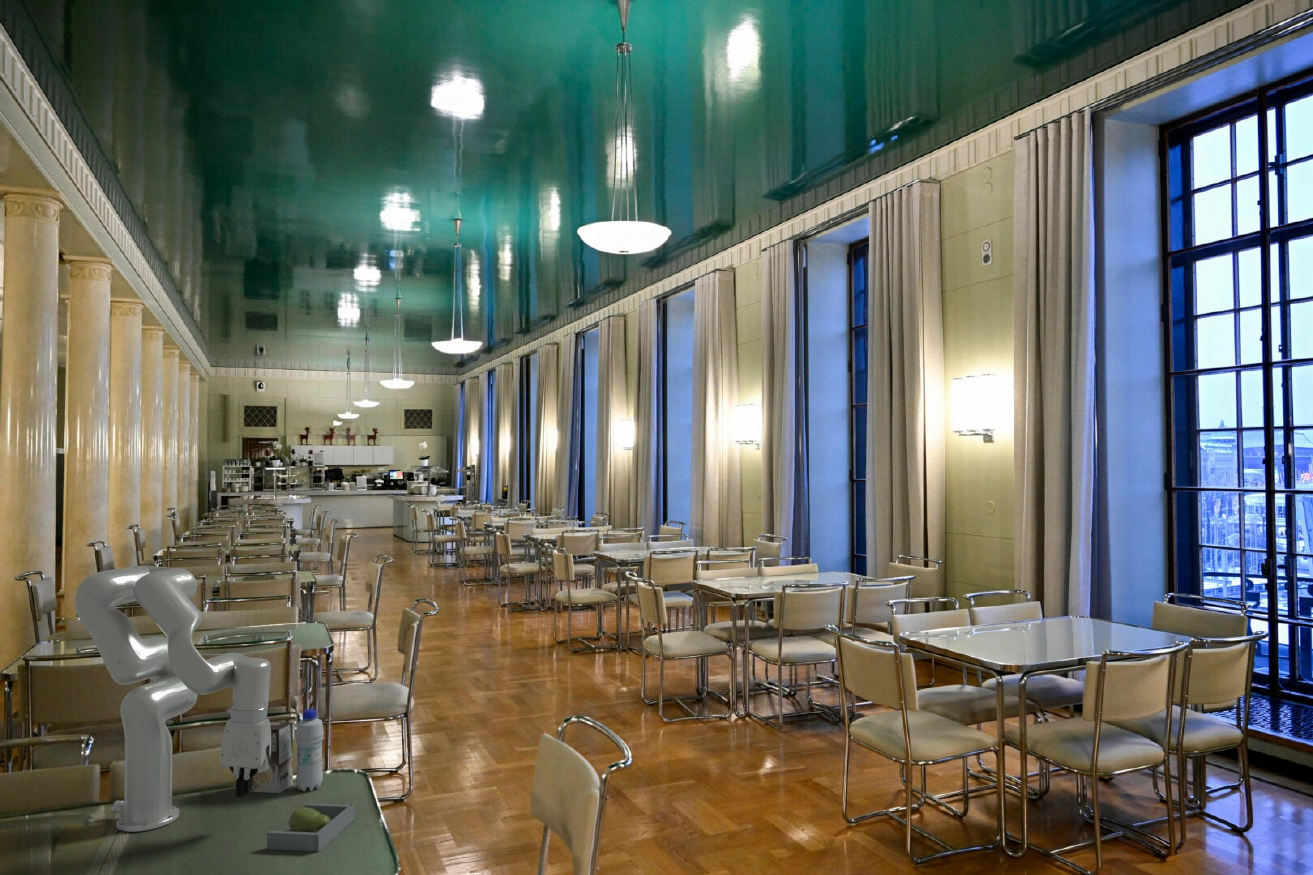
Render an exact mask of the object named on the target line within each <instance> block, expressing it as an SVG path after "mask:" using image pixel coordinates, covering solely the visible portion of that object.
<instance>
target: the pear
mask: <svg viewBox="0 0 1313 875" xmlns="http://www.w3.org/2000/svg"><path fill="white" fill-rule="evenodd" d="M330 821H332V820H330V817H328V816H326V815H322V814H320V813H319V812H318V811H316V810H314V809H311V808H305V807H304V806H303V807H299V808H296V809H295V810H294V811H293V812H292V813H291V815H290V817H289V820H288V825H289V829H290V830H291V832H311V833H317V832H318V831H320V830H321V829H322V828H323V827H324V826H326V825H327V824H328V823H329V822H330Z"/></svg>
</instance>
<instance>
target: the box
mask: <svg viewBox="0 0 1313 875" xmlns="http://www.w3.org/2000/svg"><path fill="white" fill-rule="evenodd" d="M303 807H305V808H311V809H314V810H316V811H318V812H319V813H320V814H322V815H326V816H328V817H330V820H332V821H330V822H329V823H328V824H327V825H326V826H324V827H323V828H322V829H321V830H320V831H318V832H317V833H313V832H311V831H309V832H293V831H287V830H286V831H284V830H283V831H282V830H269V831H267V832H266V834H267V835H266V850H278V851H296V852H297V851H298V852H317V853H318V852H319V853H320V851H322V850H323V848H325V847H326V846H327V845H329V843H330V842H332V841H333V840H334V839H335V838H336V837H337V836H338V835H339V834H341V833H342V832H343V831H344V830H345V829H346V828H347V827H349V826H350V825H351V824H352V823H353V822H354V821H355V804H334V803H333V804H332V803H331V804H329V803H309V802H307V803H305V804H304V805H303ZM353 820H354V821H353ZM352 821H353V822H352ZM351 822H352V823H351ZM350 823H351V824H350ZM349 824H350V825H349ZM348 825H349V826H348ZM346 826H347V827H346ZM345 827H346V828H345ZM344 828H345V829H344ZM343 829H344V830H343ZM342 830H343V831H342ZM341 831H342V832H341ZM340 832H341V833H340Z"/></svg>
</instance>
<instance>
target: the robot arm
mask: <svg viewBox="0 0 1313 875" xmlns="http://www.w3.org/2000/svg"><path fill="white" fill-rule="evenodd" d="M197 591H198V582H197V579H196V578H195V576H194V574H192V573H191V572H190V571H189V570H187V569H185V568H181V567H169V566H155V565H137V566H135V565H134V566H128V567H123V568H113V569H108V570H102V571H98V572H95V573H92V574H91V575H88V576H86V577H85V578H84V579H83V580H82V581H81V582H80V583H79V585H78V586H77V589H76V592H75V595H74V608H75V611H76V614H77V616H78V619H79V620H80V622H81V623H82V625H83V626H84V628H85V630H86V631H87V632H88V633H89V635H90V637H91V638H92V640H93V642H94V644H95V647H96V649H97V651H98V653H99V655H100V657H101V659H102V661H103V663H104V665H105V667H106V669H107V671H108V674H109V675H110V676H111V678H112V680H113V681H114V682H115V683H116V684H118V685H123V686H125V685H131V684H135V683H140V682H143V681H145V680H149V679H151V680H152V681H151V682H148V683H145V684H142V685H139V686H137V687H135V688H134V689H132V690H130V691H129V692H128V693H127V694H126V695H125V696H124V697H123V698H122V700H121V703H120V707H119V709H120V710H119V711H120V713H119V714H120V718H121V721H122V728H123V732H124V797H123V798H124V800H118V799H117V800H115V801H114V802H113V805H112V806H111V808H110V813H112V814H113V813H114V814H118V813H119V818H117V820H116V822H115V826H116V827H115V828H116V829H118V830H119V831H121V830H122V831H121V832H127V833H129V832H130V833H137V832H143V831H149V830H150V831H151V830H154V829H158V828H162V827H164V826H166V825H169V824H171V823H173V822H174V821H176V820H177V819H178V818H179V817H180V809H179V808H178V807H176V806H174V805H173V738H172V735H171V732H170V730H169V728H168V726H167V725H166V722H167V720H171V719H173V718H175V717H178V716H180V715H183V714H184V713H187V712H188V711H190V710H191V709H192V708H194V706H195V705H196V703H197V700H198V696H205V695H206V696H207V695H209V694H214V693H217V692H219V691H221V690H224V689H227V688H230V687H232V688H233V689H232V700H231V702H232V703H231V706H228V707H227V708H226V713H228V714H230V718H229V719H227V720H226V722H225V723H226V724H225V727H224V730H223V734H222V739H221V744H220V750H219V751H220V752H219V763H220V764H221V766H222V767H223V768H226V769H227V770H230V771H231V772H232V774H233V777H234V780H236V782H235V798H246V797H247V796H248V795H250V793H252V792H251V790H252V782H253V776H255V774H256V773H259V772H265V771H267V770H268V769H269V764H268V762H269V760H270V757H271V727H270V722H271V721H270V719H269V718H268V711H269V710H268V709H269V697H270V687H271V686H270V683H271V673H272V672H271V671H272V670H271V669H272V666H271V662H270V661H269V660H268V659H267V658H263V657H250V656H247V655H244V654H242V653H238V652H227V653H224V654H220V655H217V656H214V657H210V658H207V659H205V658H204V657H203V655H202V654H201V653H200V652H199V651H198V650H197V648H196V647H195V645H194V643H193V638H192V636H193V633H194V632H195V631H196V630H197V629H198V628H199V626H201V624H202V621H203V620H204V619H203V618H204V616H203V613H202V611H200V610H199V609H198V607H197V606H196V605H195V604H194V603H193V602H192V600H191V599H193V597H195V595H196V593H197ZM133 602H137V603H138V604H139V605H140V606H141V608H142V609H143V610H144V611H145V613H146V614H147V615H148V616H149V617H150V618H151V620H152V621H153V622H154V623H155V624H156V626H157V627H158V628H159V630H160V631H161V632H162V633H163V635H165V636H166V637H165V636H150V637H147V638H142V637H141V636H140V634H139V632H138V630H137V629H136V626H135V625H134V623H133V621H132V620H131V619H130V617H128V616H127V615H126V614H125V613H123V612H122V611H120V610H119V609H118V608H117V605H118V606H119V605H124V604H129V603H133Z"/></svg>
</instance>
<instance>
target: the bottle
mask: <svg viewBox="0 0 1313 875" xmlns="http://www.w3.org/2000/svg"><path fill="white" fill-rule="evenodd" d="M317 717H318V713H317V710H316V708H315V709H314V708H307V709H305V710H304V711H303V712H302V720H301V721H298V722H297V725H296V732H295V742H296V744H297V746H296V747H297V748H296V756H297V757H296V760H297V761H296V764H297V765H296V778H295V782H296V787H297V789H298V790H299V791H302V792H306V791H307V788H309V791H310V792H313V791H314V789H315V790H318V789H319V788H320V787H321V785H322V783H323V778H324V774H323V773H324V772H323V740H324V738H325V737H324V734H325V731H324V726H323V721H322V720H321V719H319V718H317Z"/></svg>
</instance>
